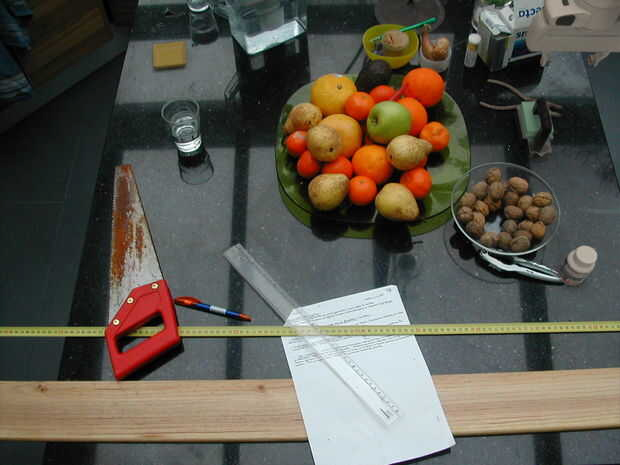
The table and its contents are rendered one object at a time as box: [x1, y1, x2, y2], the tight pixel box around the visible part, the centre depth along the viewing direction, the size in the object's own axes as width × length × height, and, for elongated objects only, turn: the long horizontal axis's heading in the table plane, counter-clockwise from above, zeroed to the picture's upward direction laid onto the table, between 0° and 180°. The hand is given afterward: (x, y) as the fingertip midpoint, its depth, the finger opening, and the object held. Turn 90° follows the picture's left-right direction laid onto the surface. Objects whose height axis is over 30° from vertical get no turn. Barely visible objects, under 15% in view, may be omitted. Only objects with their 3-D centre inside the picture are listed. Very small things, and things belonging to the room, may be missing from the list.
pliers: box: [479, 79, 564, 119], centre depth 142 cm, size 10×1×20 cm
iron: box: [513, 97, 555, 165], centre depth 131 cm, size 15×7×10 cm, turn 178°
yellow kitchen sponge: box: [152, 40, 187, 69], centre depth 151 cm, size 9×9×2 cm
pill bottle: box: [557, 245, 598, 286], centre depth 113 cm, size 5×5×9 cm
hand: (567, 64), depth 116 cm, fingers open, 8 cm apart
